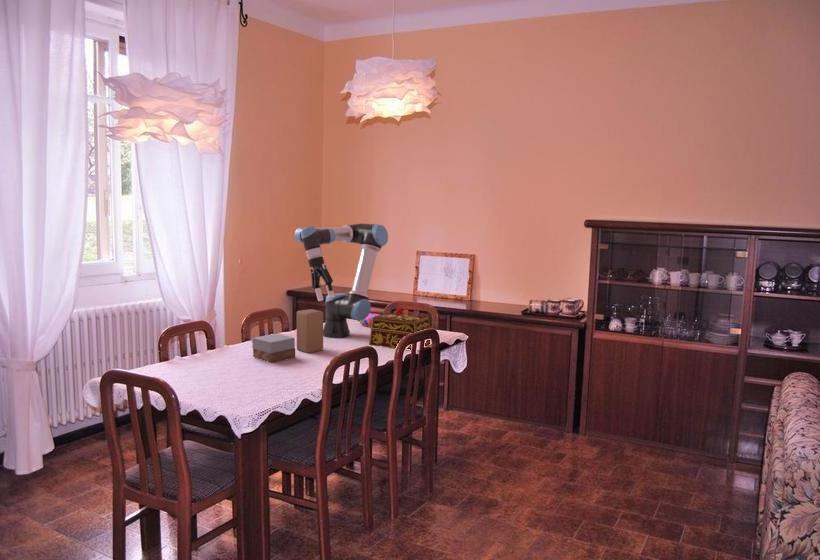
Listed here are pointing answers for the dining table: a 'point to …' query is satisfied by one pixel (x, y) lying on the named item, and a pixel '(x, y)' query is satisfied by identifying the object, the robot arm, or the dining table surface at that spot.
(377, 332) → the decorative box
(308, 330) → the wooden block
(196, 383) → the dining table surface
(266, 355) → the tower base block
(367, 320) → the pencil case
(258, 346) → the tower top block
